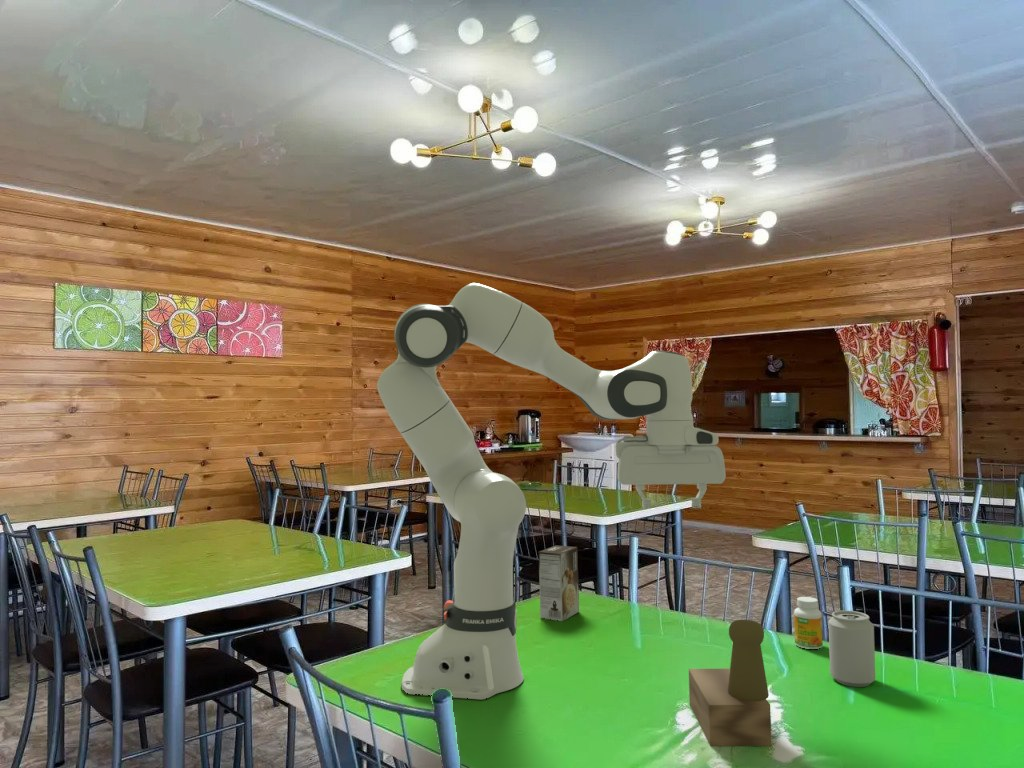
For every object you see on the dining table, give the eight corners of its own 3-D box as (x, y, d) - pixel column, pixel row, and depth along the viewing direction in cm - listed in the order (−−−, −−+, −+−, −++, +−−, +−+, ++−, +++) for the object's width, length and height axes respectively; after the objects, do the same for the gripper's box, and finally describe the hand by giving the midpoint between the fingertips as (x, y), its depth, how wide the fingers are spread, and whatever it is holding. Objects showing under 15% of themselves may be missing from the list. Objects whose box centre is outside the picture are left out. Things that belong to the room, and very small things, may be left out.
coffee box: (556, 608, 183) (555, 544, 184) (579, 612, 180) (578, 546, 181) (539, 618, 176) (538, 551, 176) (563, 622, 172) (561, 553, 173)
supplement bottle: (794, 649, 150) (793, 601, 151) (795, 641, 155) (793, 594, 156) (823, 651, 148) (821, 603, 149) (822, 643, 153) (821, 596, 154)
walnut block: (710, 745, 109) (709, 704, 109) (689, 704, 124) (688, 668, 124) (771, 745, 108) (770, 704, 109) (743, 704, 123) (742, 668, 123)
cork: (770, 702, 109) (767, 628, 110) (728, 699, 111) (725, 626, 111) (767, 687, 115) (765, 617, 115) (727, 684, 117) (725, 614, 117)
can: (875, 676, 135) (872, 610, 135) (876, 691, 128) (873, 621, 128) (830, 670, 138) (828, 606, 138) (829, 685, 131) (827, 617, 131)
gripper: (617, 436, 138) (618, 510, 137) (726, 435, 137) (728, 509, 136) (613, 435, 144) (615, 506, 144) (718, 434, 143) (720, 505, 143)
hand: (671, 507), depth 140 cm, fingers open, 8 cm apart
